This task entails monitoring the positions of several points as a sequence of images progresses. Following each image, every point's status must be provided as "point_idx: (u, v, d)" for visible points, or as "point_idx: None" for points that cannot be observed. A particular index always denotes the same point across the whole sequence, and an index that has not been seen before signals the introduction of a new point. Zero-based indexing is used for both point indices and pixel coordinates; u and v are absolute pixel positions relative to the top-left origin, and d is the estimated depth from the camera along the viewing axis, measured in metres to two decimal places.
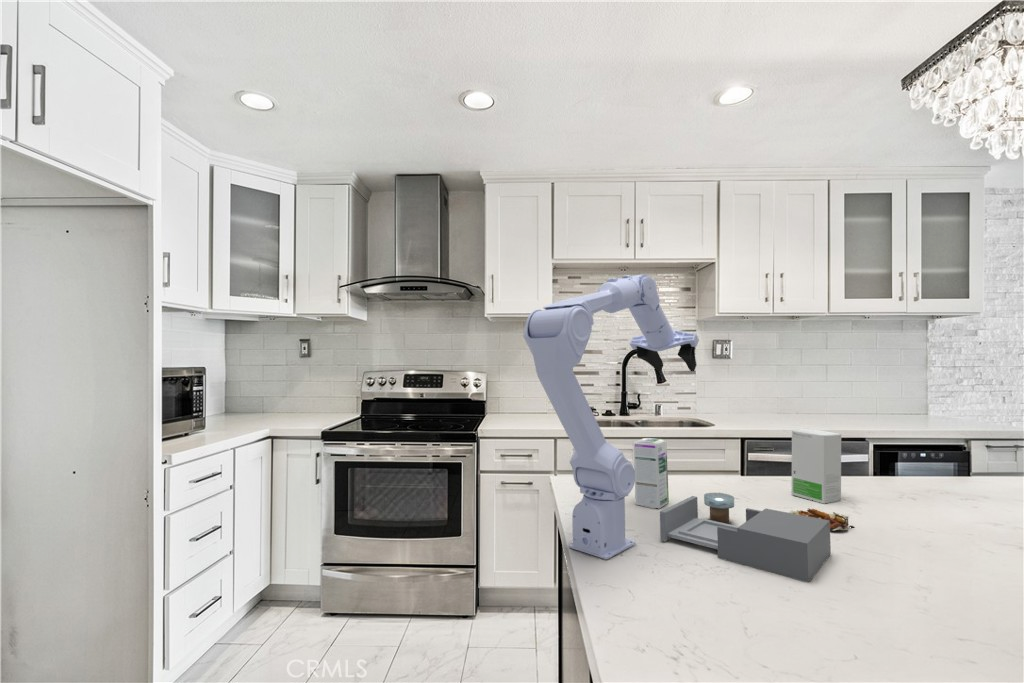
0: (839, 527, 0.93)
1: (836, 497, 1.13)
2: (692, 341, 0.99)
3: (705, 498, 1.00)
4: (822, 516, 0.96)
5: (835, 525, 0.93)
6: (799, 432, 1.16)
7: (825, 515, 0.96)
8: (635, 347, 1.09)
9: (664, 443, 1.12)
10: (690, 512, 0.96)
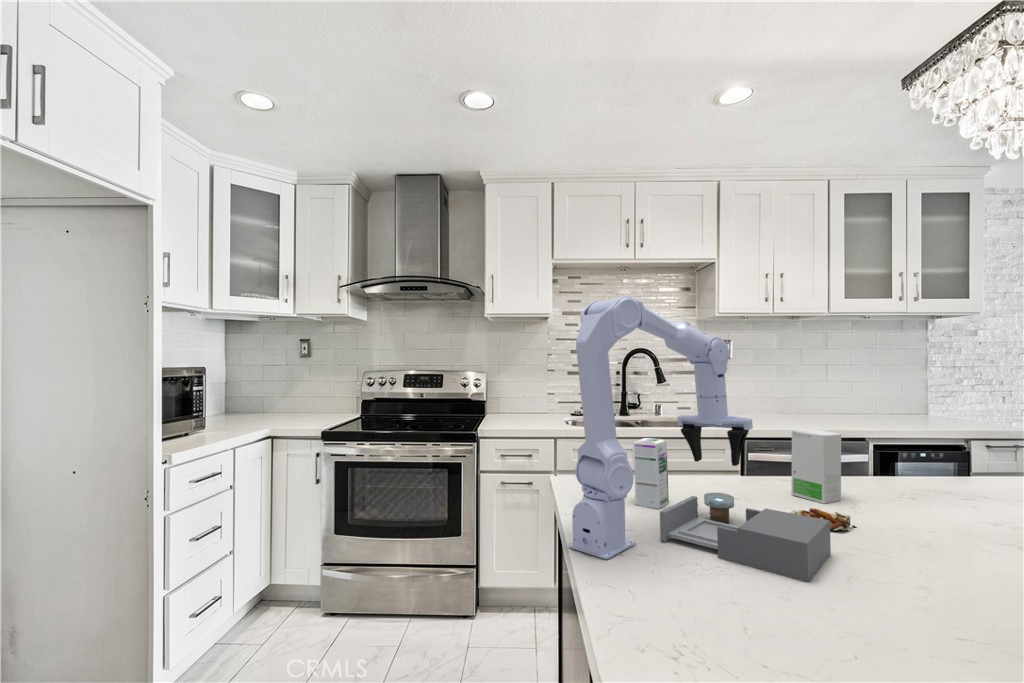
0: (840, 527, 0.93)
1: (836, 497, 1.13)
2: (747, 422, 0.96)
3: (705, 498, 1.00)
4: (824, 516, 0.96)
5: (836, 525, 0.93)
6: (799, 432, 1.16)
7: (827, 515, 0.96)
8: (681, 423, 1.05)
9: (664, 443, 1.12)
10: (690, 512, 0.96)
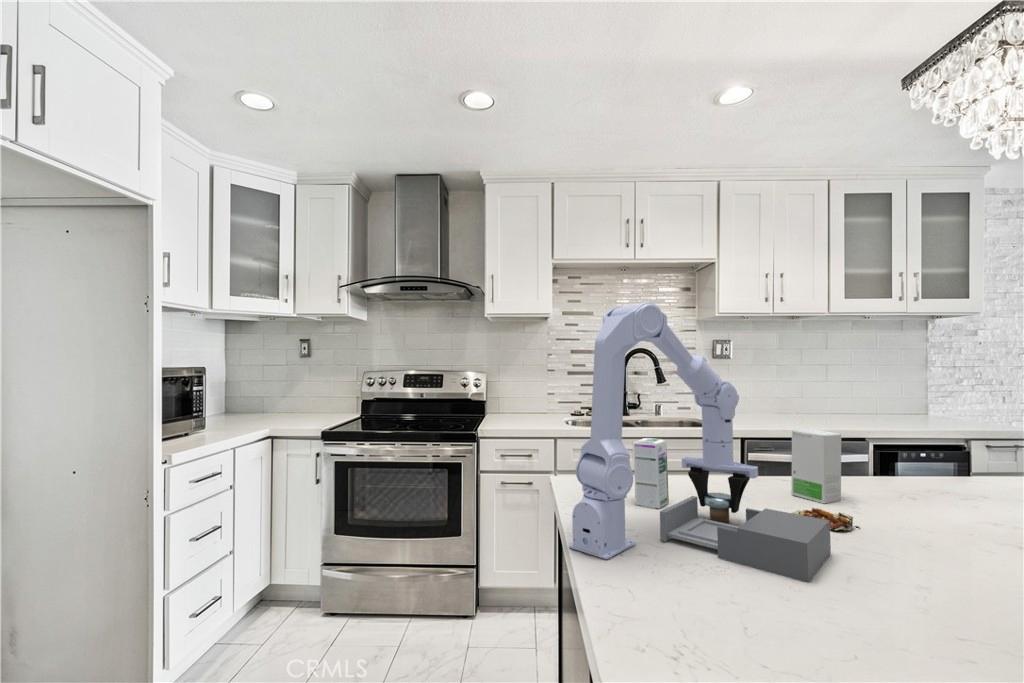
0: (842, 527, 0.93)
1: (836, 497, 1.13)
2: (752, 470, 0.94)
3: (705, 498, 1.00)
4: (826, 516, 0.96)
5: (838, 525, 0.93)
6: (799, 432, 1.16)
7: (829, 515, 0.96)
8: (685, 465, 1.04)
9: (664, 443, 1.12)
10: (690, 512, 0.96)
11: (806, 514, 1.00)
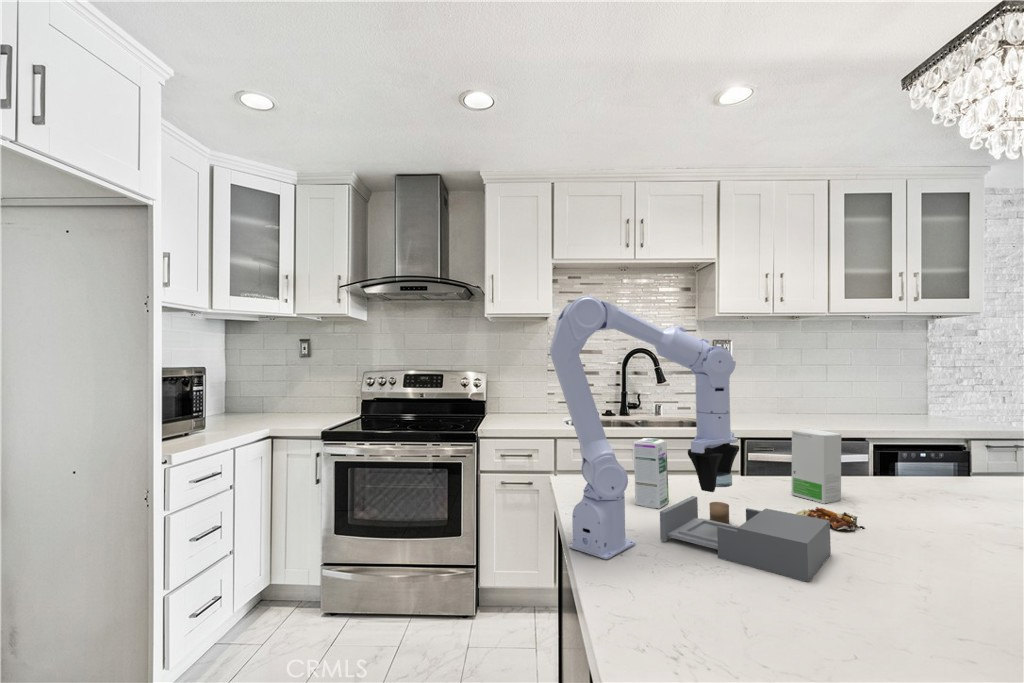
0: (844, 526, 0.93)
1: (836, 497, 1.13)
2: None
3: None
4: (830, 515, 0.97)
5: (841, 524, 0.94)
6: (799, 432, 1.16)
7: (833, 514, 0.96)
8: None
9: (664, 443, 1.12)
10: (690, 512, 0.96)
11: (810, 513, 1.00)
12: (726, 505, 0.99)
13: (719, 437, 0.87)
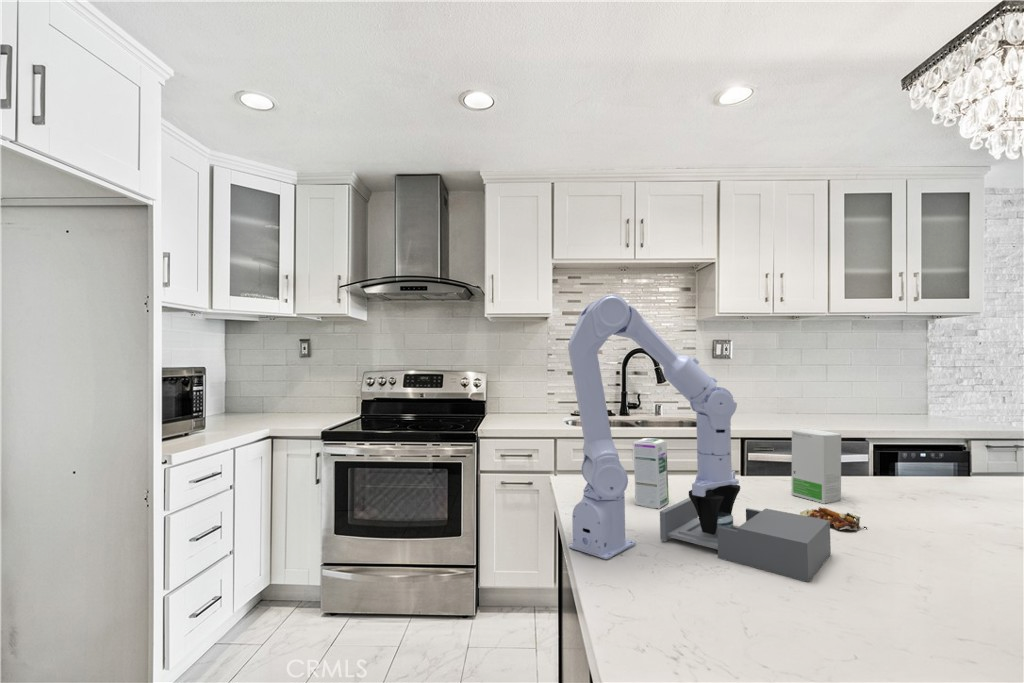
0: (847, 526, 0.93)
1: (836, 497, 1.13)
2: None
3: None
4: (832, 515, 0.97)
5: (843, 524, 0.94)
6: (799, 432, 1.16)
7: (835, 514, 0.96)
8: None
9: (664, 443, 1.12)
10: (690, 512, 0.96)
11: (813, 513, 1.00)
12: None
13: (720, 479, 0.87)
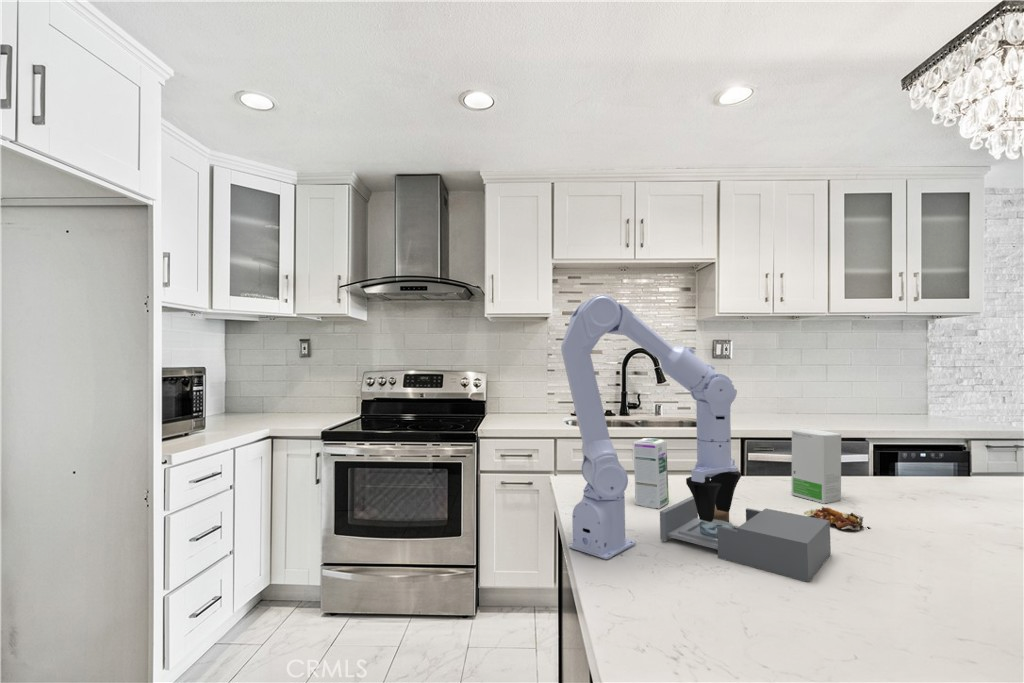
0: (848, 526, 0.93)
1: (836, 497, 1.13)
2: None
3: None
4: (835, 515, 0.97)
5: (845, 524, 0.94)
6: (799, 432, 1.16)
7: (838, 514, 0.96)
8: None
9: (664, 443, 1.12)
10: (690, 512, 0.96)
11: (817, 513, 1.00)
12: None
13: (719, 466, 0.87)
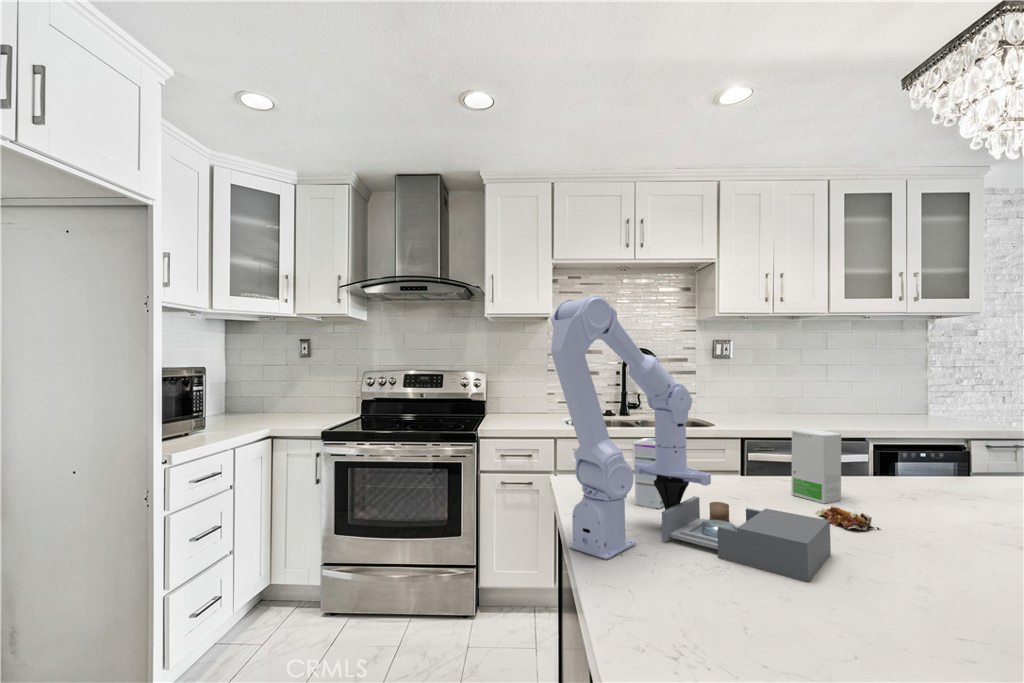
0: (855, 526, 0.93)
1: (836, 497, 1.13)
2: (704, 477, 0.90)
3: None
4: (843, 515, 0.97)
5: (851, 523, 0.94)
6: (799, 432, 1.16)
7: (846, 514, 0.96)
8: (639, 471, 0.99)
9: None
10: (692, 512, 0.96)
11: (826, 512, 1.00)
12: (726, 505, 0.99)
13: None
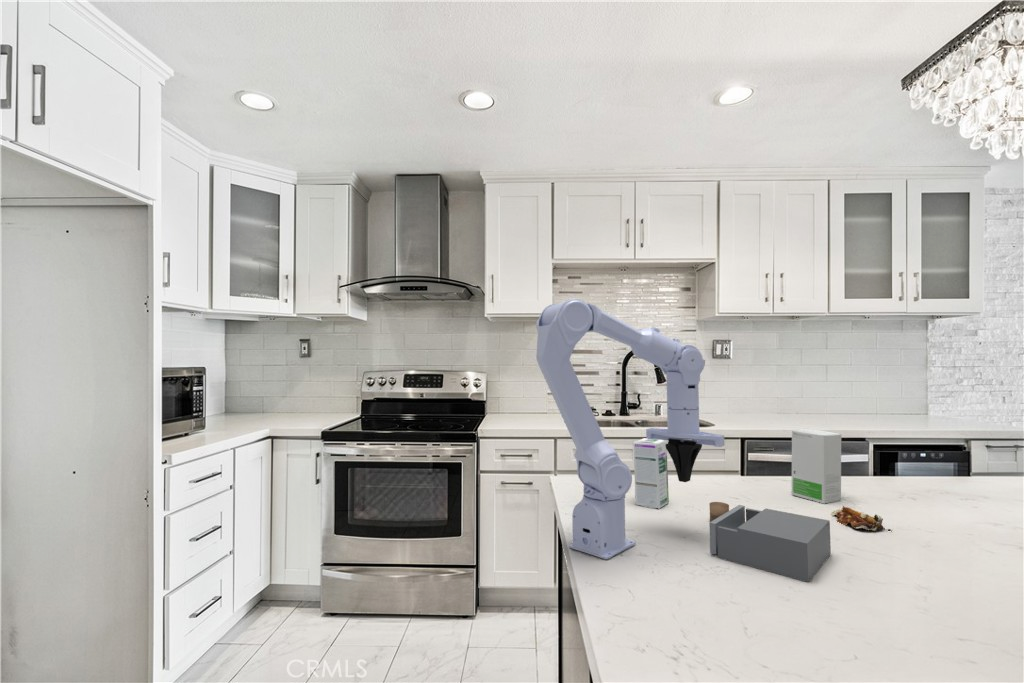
0: (862, 526, 0.93)
1: (836, 497, 1.13)
2: (718, 438, 0.88)
3: None
4: (854, 515, 0.97)
5: (859, 523, 0.94)
6: (799, 432, 1.16)
7: (857, 514, 0.96)
8: (650, 436, 0.97)
9: (664, 443, 1.12)
10: (738, 522, 0.90)
11: (839, 512, 1.00)
12: (726, 505, 0.99)
13: None
